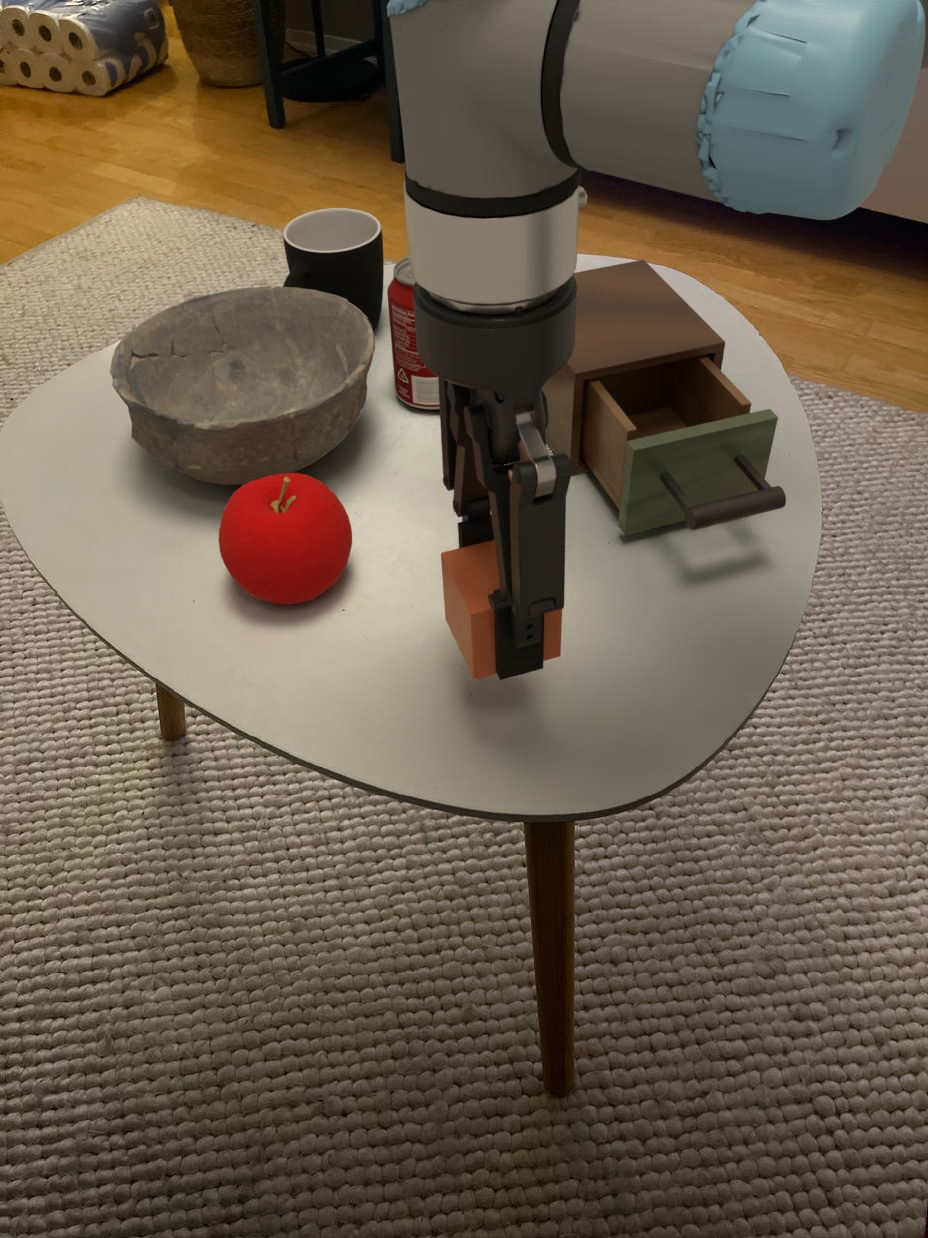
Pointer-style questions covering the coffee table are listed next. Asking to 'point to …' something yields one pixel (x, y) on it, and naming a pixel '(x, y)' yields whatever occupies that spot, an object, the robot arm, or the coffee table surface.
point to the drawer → (678, 446)
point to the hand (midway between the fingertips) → (501, 634)
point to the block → (482, 607)
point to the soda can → (408, 344)
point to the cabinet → (620, 342)
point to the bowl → (245, 381)
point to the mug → (338, 257)
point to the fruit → (285, 538)
